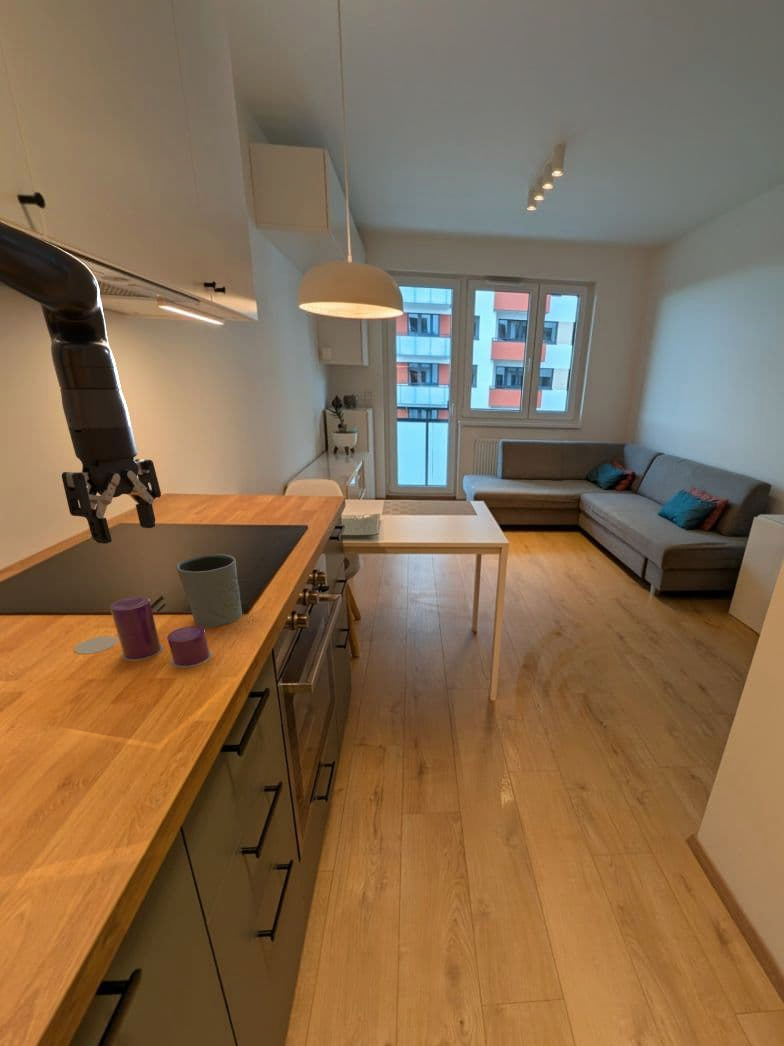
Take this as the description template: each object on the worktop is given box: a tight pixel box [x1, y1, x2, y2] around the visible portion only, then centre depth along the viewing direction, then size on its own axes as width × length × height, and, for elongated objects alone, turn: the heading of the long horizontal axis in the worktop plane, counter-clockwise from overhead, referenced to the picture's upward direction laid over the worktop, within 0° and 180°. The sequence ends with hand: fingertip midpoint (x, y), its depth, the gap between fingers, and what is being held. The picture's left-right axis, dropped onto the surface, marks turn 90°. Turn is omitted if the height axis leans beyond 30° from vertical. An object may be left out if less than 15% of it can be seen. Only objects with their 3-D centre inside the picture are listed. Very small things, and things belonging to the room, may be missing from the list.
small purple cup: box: [116, 624, 161, 659], centre depth 86 cm, size 6×6×4 cm
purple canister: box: [166, 625, 210, 666], centre depth 84 cm, size 6×6×4 cm
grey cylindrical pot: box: [176, 553, 243, 628], centre depth 97 cm, size 10×10×12 cm
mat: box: [73, 635, 213, 669], centre depth 87 cm, size 26×12×1 cm, turn 78°
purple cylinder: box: [109, 596, 156, 635], centre depth 84 cm, size 6×6×4 cm
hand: (127, 534), depth 78 cm, fingers open, 8 cm apart
